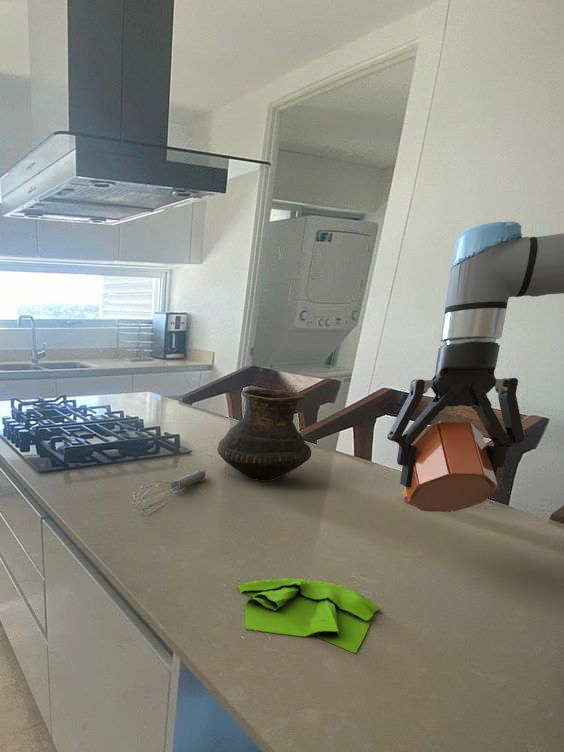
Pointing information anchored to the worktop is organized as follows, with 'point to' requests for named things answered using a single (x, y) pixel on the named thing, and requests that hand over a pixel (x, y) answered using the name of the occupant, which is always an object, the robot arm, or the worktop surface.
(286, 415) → the ceramic pot
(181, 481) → the kitchen whisk
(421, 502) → the cup
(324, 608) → the cloth
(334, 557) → the worktop surface
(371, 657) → the worktop surface
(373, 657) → the worktop surface
